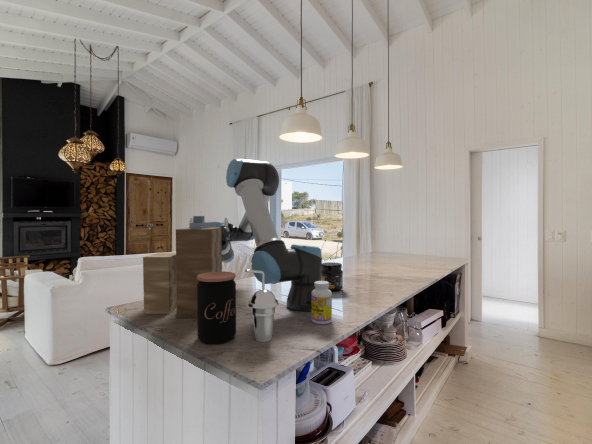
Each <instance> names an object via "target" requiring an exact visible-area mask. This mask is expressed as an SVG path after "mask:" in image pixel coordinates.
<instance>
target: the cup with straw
mask: <svg viewBox="0 0 592 444" xmlns="http://www.w3.org/2000/svg"><path fill="white" fill-rule="evenodd" d="M244 271H245V273H251V274H252V273H253V274H254V273H261V274H262V283H261V289H258V290H257V291H255V292H254V293H253V294H252V296H251V299H250V300H248V304H247V305H248V307H249V308H250V311H251V315H252V322H253V330H254V335H255V340H256V341H257V342H261V343H262V342H263V343H264V342H265V343H266V342H269V341H271V340H272V335H273V328H274V320H275V319H274V318H275V313H276V309H277V306H279V300H278V299H276V297H275V294H274V293H273V292H272V291H271V290H269V289H265V285H266V284H265V275H264V272H263V271H258V270H252V269H245V270H244Z"/></svg>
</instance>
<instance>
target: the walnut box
mask: <svg viewBox="0 0 592 444" xmlns="http://www.w3.org/2000/svg"><path fill="white" fill-rule="evenodd" d="M175 253H176V287H177V308H176V314H175V318H176V319H197V284H198V282H199V281H198V280H197V275H199V274H202V273H207V272H223V264H222V263H223V262H222V231H221V227H211V228H205V229H190V228H189V227H183V228H177V229H175Z"/></svg>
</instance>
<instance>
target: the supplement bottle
mask: <svg viewBox="0 0 592 444" xmlns="http://www.w3.org/2000/svg"><path fill="white" fill-rule="evenodd" d="M314 286H315V289H314V290H313V291H312V293H311V311H310V312H311V322H312V323H314V324H318V325H326V324H330V323H331V322H332V319H333V316H332V313H333V310H332V309H333V307H332V305H333V302H332V300H333V292H331V291H330V290H329V289H328V287H329V282H327V281H316V282H315V283H314Z"/></svg>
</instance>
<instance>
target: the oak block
mask: <svg viewBox="0 0 592 444" xmlns="http://www.w3.org/2000/svg"><path fill="white" fill-rule="evenodd" d="M142 269H143V271H142V272H143V273H142V275H143V277H142V278H143V281H142V283H143V284H142V285H143V288H142V289H143V314H145V315H146V314H147V315H148V314H150V315H153V314H154V315H155V314H157V315H159V314H161V315H162V314H163V315H164V314H165V315H166V314H167V315H170V314H171V313H172V312H174V311H175V310H177V287H176V252H157V253H154V254H149V255H146V256H143V257H142Z"/></svg>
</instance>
